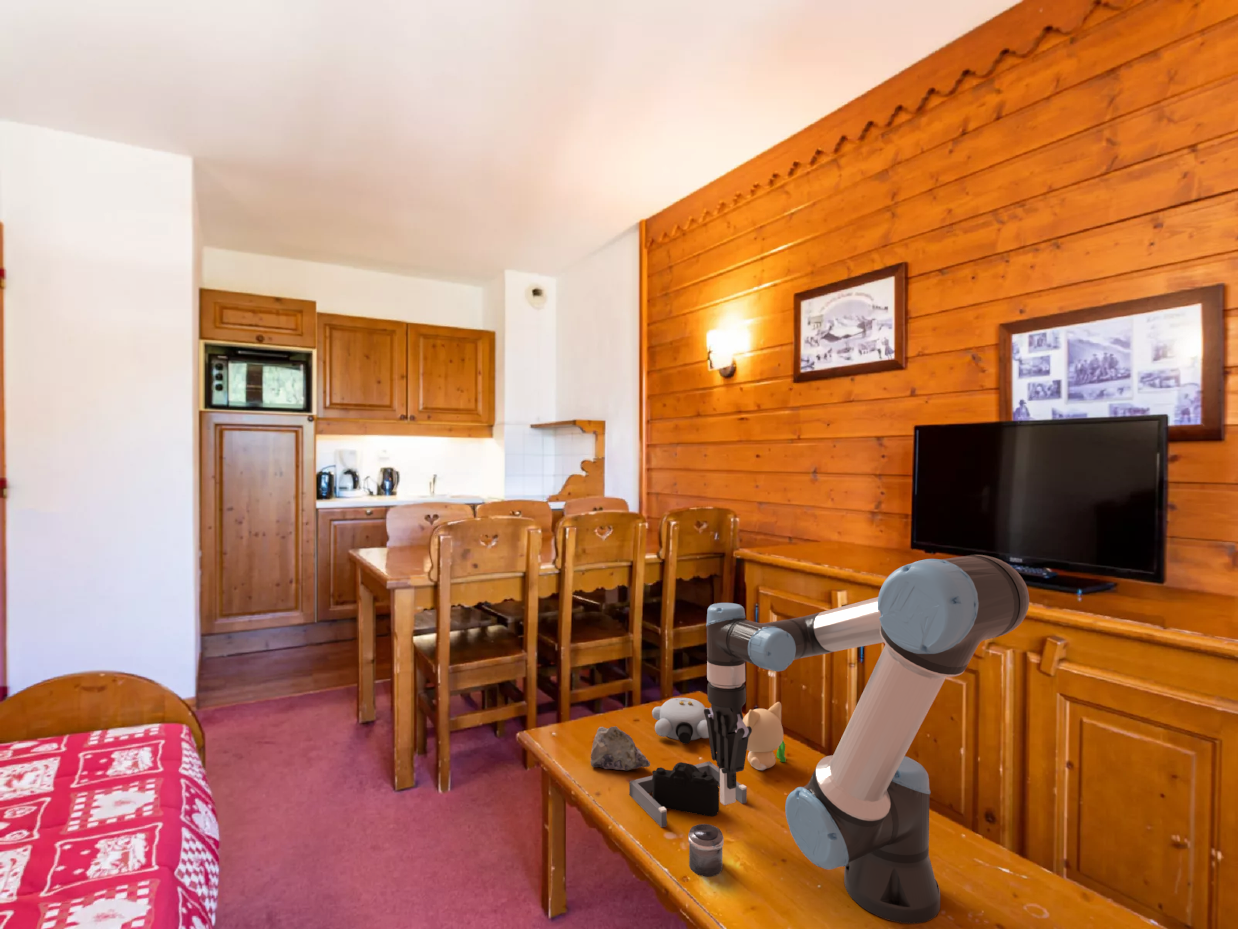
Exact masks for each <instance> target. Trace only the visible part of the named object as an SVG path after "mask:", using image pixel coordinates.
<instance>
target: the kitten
mask: <svg viewBox="0 0 1238 929" xmlns="http://www.w3.org/2000/svg"><path fill="white" fill-rule="evenodd" d="M743 722H744V724H745V725H746V727H748V726H750V727H751V729H752V732H751V734H750V736H749V738H748V745H747V751H749V752H748V755H747V761H748V763H749V764H750V765H751V767H753V768H754V769H756V770H758V771H765V770H766V769H770V768H772V767H773V766H774V765H775V764H776V761H777V760H776V759H778V760H779V763H786V760H787V758H786V756H785V755H786V753H785V752H786V744H785V741H784V728H783V726H782V725H783V724H782V703H781V702H780V701H777V702H775V703H774V704H773V705H771V706H770V707H769V708H767V709H765V708H755V709H749V710H748V712H747V713H746V714H745V715H744V716H743ZM775 750H777V751H776V754H775V753H774V752H773V751H775Z"/></svg>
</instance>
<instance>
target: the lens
mask: <svg viewBox="0 0 1238 929" xmlns="http://www.w3.org/2000/svg"><path fill="white" fill-rule="evenodd" d="M687 836H688V838H687V839H688V841H687V842H688V845H689V849H688V850H689V853H688V855H689V856H688V858H689V860H688V861H689V862H688V864H689V865H688V866H689V869H690V870H691V872H692V873H694V874H695V875H697V876H701V877H706V878H708V877H709V878H712V877H715V876H717V875H719V874H721V872H722V871H723V847H724V845H725V844H724V842H725V841H724V835H723V831H722V830H721V829H720V828H719V827H717V826H716V825H714V824H713V825H712V824H710V823H700V824H696V825H694V826H692V827H690V829H689V832H688V835H687Z"/></svg>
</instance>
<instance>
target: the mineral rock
mask: <svg viewBox="0 0 1238 929" xmlns="http://www.w3.org/2000/svg"><path fill="white" fill-rule="evenodd" d="M590 766H591V767H593V768H603V769H605V770H612V769H613V770H615V771H619V770H621V771H630V770H633V769H635V770H637V769H639V768H641V767H642V768H648V767H650V766H651V762H650V761H649V759H648V758H647V757H646V756H645V755H644V754H643V752H642V751H641V749H640V748H638V747H637V746H636V744H635V742H634V740H633V738H632V737H631V736H630V735H629V734H627V733H626V732H625V731H623V730H621V729H620V728H619V727H618V726H610V727H609V728H606V727H604V726H599V727H598V729H597V731H596V734H595V736H594V738H593V742H592V747H591V752H590Z"/></svg>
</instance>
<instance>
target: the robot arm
mask: <svg viewBox="0 0 1238 929" xmlns="http://www.w3.org/2000/svg"><path fill="white" fill-rule="evenodd" d="M1029 606H1030V596H1029V590H1028V587H1027V584H1026V582H1025V580H1024V579H1023V577H1022V576H1021V574H1019V572H1018V571H1017V570H1016V569H1015V568H1014V567H1012V566H1011V565H1010V564H1008V563H1007V562H1006V561H1003V560H1002V559H999V558H996V557H993V556H989V555H986V554H984V555H983V554H970V555H965V556H955V557H951V558H950V557H949V558H943V559H942V558H941V559H938V558H926V559H922V560H918V561H917V560H916V561H914V562H912V563H908V564H905V565H903V566H900V567H899V568H897V569H895V570H894V571H892V572H891V573H890V574H889V575H888V576H887V577H886V579H885V580H884V582H883V583H882V585H881V588H880V590H879V592H878V596H877V597H873V598H869V599H866V600H862V601H858V602H855V603H851V604H847V605H843V606H838V607H835V608H832V609H827V610H825V611H821V612H816V613H813V614H809V615H808V614H807V615H805V616H799V617H795V618H789V619H781V620H775V621H770V622H762V623H761V622H757V621H752V620H749V619H746V613H745V608H744V606H742V604H738V603H733V602H717V603H713V604H710V605H709V606H708V608H707V614H706V624H705V627H706V654H707V655H706V657H707V660H706V662H707V663H706V664H707V665H706V678H707V681H708V683H707V684H706V685H707V702H708V703H709V704H711V705H710V707H709V708H708V707H707V708H708V709H704V714H705V717H706V721H707V727H708V734H709V738H708V740H709V749H710V756H711V760H712V761H715V762H716V766H717V767H718V768H719V782H720V787H719V803H721V804H722V805H723V806H726V805H727V806H728V805H730V804H733V803H736V801H737V799H736V793H735V788H736V781H737V773H739V772H742V771H745V770H744V769H745V764H746V756H747V751H748V750H747V745H748V738H749V736H750V734H751V732H752V729H751V727H750V726H748V727H746V725H745V724H744V722H743V718H744V715H743V711H742V708H743V707H744V705H745V704H746V700H747V699H746V698H747V695H746V694H747V692H746V691H747V690H746V687H747V686H746V685H745V682H746V663H749V664H751V665H755V666H756V667H758V668H760V669H763V670H767V671H769V670H770V671H772V672H782V671H786V669H788V667H789V666H790V665H792V663H793V661H795V660H799V659H804V658H808V657H809V658H810V657H813V656H814V657H815V656H821V655H826V654H831V653H834V652H839V651H843V650H849V649H855V648H860V647H864V646H865V647H866V646H871V645H876V644H882V643H884V644H885V645H884V647H883V649H882V651H881V653H880V656H879V657H878V660H877V661H876V664H875V666H874V668H873V670H872V673H871V674H870V676H869V679H868V681H867V683H866V685H865V687H864V689H863V692H862V693H861V695H860V698H859V700H858V702H857V705H856V706H855V708H854V711H853V713H852V715H851V717H850V719H849V721H848V724H846V725H847V726H846V728H845V729H844V732H843V734H842V735H841V739H840V741H839V743H838V745H837V747H836V749H835V751H834V753H833V755H832V754H831V755H827V756H824V757H823V758H821V759H820V760H819V762H818V763H817V764H816V767H815V769H814V771H813V773H812V775H811V778H810V779H809V781H808V782H807V784H805V785H804V786H798V787H796V788H795V789H794V790H792V791H791V792H789V794H788V796H787V797H786V800H785V810H784V811H785V818H786V823H787V825H788V828H789V832H790V834H791V836H792V839H793V840H794V843H795V845H796V846H797V847H798V848H799V850H800V851H801V853H802V854H803V855H804V856H805V857H806V858H807V860H809V861H810V862H811V863H812V864H813V865H815V866H817V868H821V869H824V870H834V869H837V868H840V867H841V868H843V867H844V870H843V873H844V876H843V877H844V878H843V880H844V881H843V883H844V886H845V890H846V892H847V894H848V895H849V896H850V898H852V900H853V901H854V902H855V903H856V904H858V905H859V906H860V907H861V908H862V909H864V910H866V911H867V912H869V913H871V914H873V915H875V916H877V917H879V918H882V919H884V920H888V921H891V922H895V923H900V924H901V923H902V924H920V923H926V922H928V921H931V920H932V919H934V918H935V917H936V916H938V913H939V912H940V909H941V889H940V887H939V886H940V885H939V883H938V882H937V880H936V877H935V873H934V869H933V865H932V862H931V859H930V849H929V847H930V844H929V843H930V795H931V789H930V779H929V777H930V776H929V773H928V772H927V770H926V769H925V767H924V766H923V765H922V764H921V763H920V762H917V761H916V760H914V759H913V758H910V757H909V756H906V754H907V752H908V750H909V749H910V747H911V745H912V743H913V741H914V739H915V738H916V735H917V733H918V732H919V729H920V728H921V725H922V724H923V722H924V721H925V718H926V717H927V714H928V712H929V710H930V708H931V707H932V705H933V703H934V701H935V700H936V697H937V696H938V694H939V692H940V690H941V688H942V686H943V684H944V682H945V681H946V678H952V677H958V676H960V675H962V674H963V673H964V672H965V671H966V669H967V667H968V665H969V663H970V661H971V659H972V658H973V656H974V654H975V652H976V650H977V649H978V646H979V645H980V644H981V643H982V642H983V641H986V640H991V639H995V638H998V637H1002V636H1004V635H1007V634H1009V633H1010V632H1012V631H1014V630H1015V629H1017V628H1018V627H1019V626H1020V625H1021V624H1022V622H1024V619H1025V618H1026V616H1027V613H1028V611H1029Z"/></svg>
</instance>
